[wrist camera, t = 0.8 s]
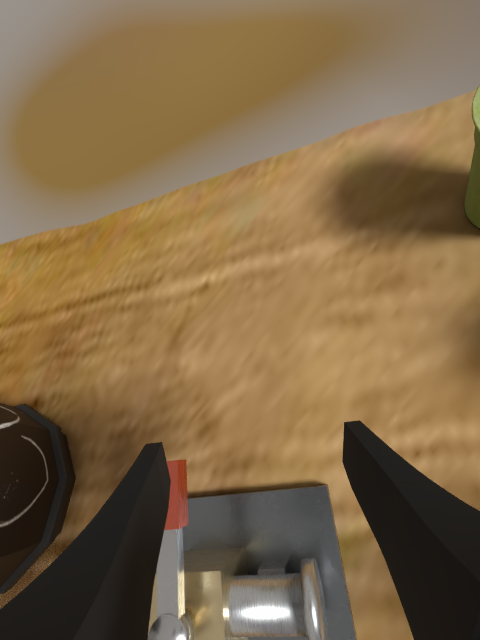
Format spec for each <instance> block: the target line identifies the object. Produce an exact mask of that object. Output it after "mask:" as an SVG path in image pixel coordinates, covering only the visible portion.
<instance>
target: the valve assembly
mask: <svg viewBox="0 0 480 640" xmlns="http://www.w3.org/2000/svg"><path fill="white" fill-rule="evenodd" d="M187 500H188V525H187V526H185V527H183V557H184V592H185V611H186V612H187V613H188V614H189V616H190V617H191V619H192V622H193V625H194V640H357V637H356V632H355V627H354V622H353V616H352V611H351V606H350V600H349V595H348V590H347V585H346V579H345V574H344V569H343V563H342V558H341V553H340V548H339V542H338V537H337V532H336V526H335V521H334V516H333V511H332V505H331V500H330V495H329V489H328V485H319V486H308V487H297V488H287V489H276V490H266V491H255V492H245V493H234V494H223V495H213V496H202V497H192V498H187ZM156 620H157V569H156V574H155V580H154V586H153V594H152V603H151V612H150V621H149V630H148V635H149V631H150V628H151V626H152V624H153V623H154V622H155V621H156Z"/></svg>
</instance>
